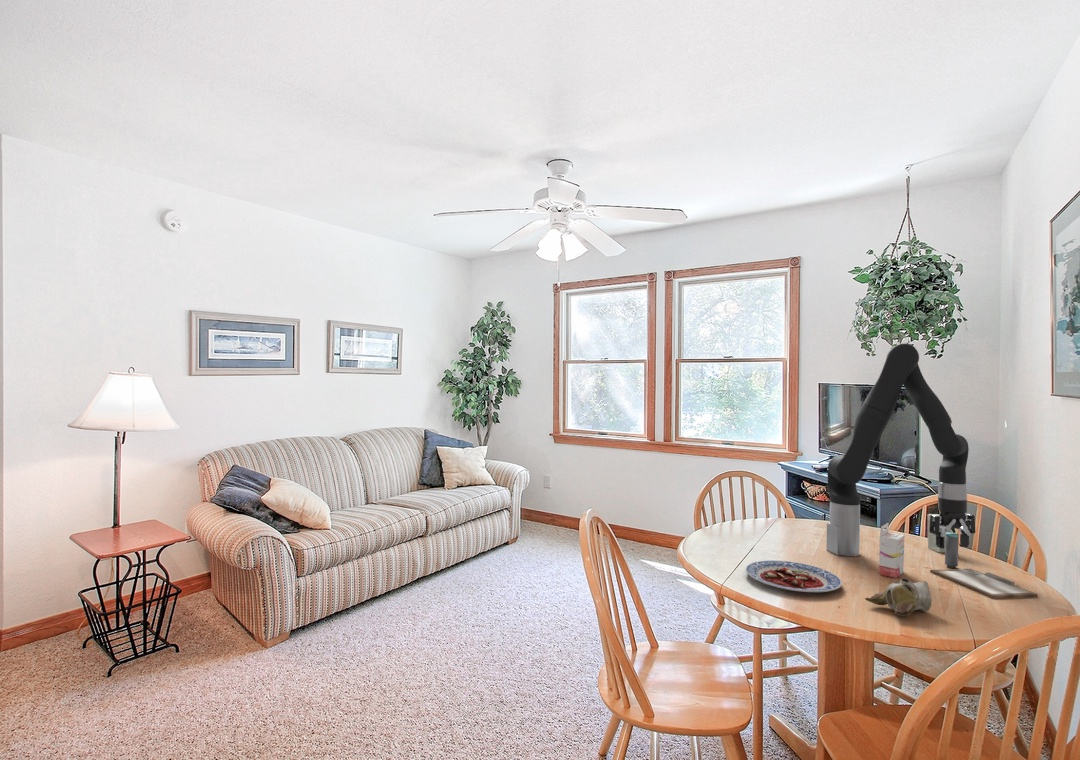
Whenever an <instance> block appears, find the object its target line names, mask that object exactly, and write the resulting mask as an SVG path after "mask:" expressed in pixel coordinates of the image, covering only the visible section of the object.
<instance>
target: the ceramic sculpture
mask: <svg viewBox="0 0 1080 760" xmlns="http://www.w3.org/2000/svg"><path fill="white" fill-rule="evenodd" d="M864 600H865V601H867V602H869V603H872V604H874V605H876V606H888V607H889V608H890V609H892V610H893V611H894V614H895V615H898V616H900V617H908V616H910V615H911V614H912V613H913V612H914V611H921V612H925V613H926V612H928V611H929V610H931V607H932V601H933V600H932V596H931V592H930V587H929V585H928V581H926V580H924V581H923V580H922V581H919V582H913V581H911V580H910V579H907V578H901V579H900V581H899V582H893V583H890V584H888V585H887V586H886V588H885V589H884V591H880V592H877V593H875V594H874V595H873V596H870V597H864Z"/></svg>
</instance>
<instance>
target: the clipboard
mask: <svg viewBox="0 0 1080 760" xmlns="http://www.w3.org/2000/svg"><path fill="white" fill-rule="evenodd" d="M929 572H930V574H933V575H935V576H938V577H941V578H942V579H945V580H948V581H949V582H951V583H954V584H957V585H959V586H961V587H964V588H965V589H968V590H970V591H973V592H975V593H978V594H980V595H983V596H985V597H987V598H990V599H1015V598H1016V599H1018V598H1019V599H1020V598H1021V599H1022V598H1038V597H1039V595H1038V593H1036V592H1033V591H1030V590H1028V589H1025V588H1022V587H1020V586H1018V585H1015V581H1013V580H1010V579H1008V578H1005V577H1002V576H999V575H997V574H994V573H992V572H985V573H983V572H981V571H978V570H975V569H973V568H946V569H945V568H944V569H942V568H941V569H930V570H929Z"/></svg>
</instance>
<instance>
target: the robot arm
mask: <svg viewBox="0 0 1080 760" xmlns="http://www.w3.org/2000/svg"><path fill="white" fill-rule="evenodd" d="M919 360H920V354H919V351H918V350H917V348H916V347H915V346H914V345H912V344H909V343H899V344H897V345H893V347H891V348H890V349H889V351H888V352H887V354H886V359H885V360H884V361H885V362H884V364H883V367H882V369H881V372H880V374H879V377H878V379H877V380H876V382H875V383H874V385H873V387H872V388H871V390H870V391H869V393H868V394H867V396H865V397H866V398H865V400H864V401H863V403H862V405H861V407H860V408H859V410H858V413H857V415H856V417H855V421H854V426H853V434H852V439H851V443H850V445H849V447H848V449H847V450H846V452H845V454H841V455H840V454H838V455H835V456H833V457H832V458H831V459H830V460H829V462H828V465H827V490H828V491H827V492H828V495H829V522H827V523H826V550H827V551H828V552H829V553H830V552H831V553H832V554H834V555H836V556H845V557H846V556H847V557H857V556H859V555H860V543H861V541H860V537H861V535H860V534H861V533H860V532H861V530H860V529H861V527H860V525H861V524H860V523H861V496H860V494H859V492H858V490H857V483H859V482H861V480H863V478H864V476H865V474H866V471H867V468H868V465H869V463H870V459H871V457H872V455H873V452H874V450H875V448H876V447H877V445H878V443H879V441H880V439H881V436H882V434H883V432H884V431H885V429H886V427H887V425H888V423H889V421H890V419H891V417H892V415H893V414H894V412H895V411H894V410H895V408H896V407H897V402H898V400H899V397H900V394H901V390H902V387H903V386H904V388H905V390H906V391H907V393H908V395H909V397H910V398H911V400H912V402H913V404H914V406H915V408H916V409H917V411H918V413H919V415H920V416H921V419H922V421H923V422H924V423H925V426H926V427H927V429H928V432H929V435H930V437H931V441H932V444H933V445H934V447H935V449H936V450H937V452H938V453H940V454H941V456H942V461H941V464H940V465H939V468H938V486H937V509H938V510H939V516H936V515H931V516H930V533H932V534H935V535H936V545H937V547H939V548H944V547H945V545H944V535H945V534H946V532H948V531H949V530H950V529H951V530H954V529H956V530H958V531H959V532H960V534H959V538H960V540H959V543H960V544H959V545H960V547H962V548H963V547H964V548H968V547H969V545H970V536H971V535H972V534H976V518H975V515H974V514H971V513H967V512H968V489H967V472H966V471H967V470H966V469H967V464H968V459H969V450H970V449H969V442H968V440H967V439H966V438H965V437H964V436H962V435H960V434H957V433H956V432H955V430H954V429H953V427H952V423H953V422H952V421H953V420H952V418H951V417H950V415H949V412H948V411H947V410H946V407H945V406H944V404H943V403H942V401H941V400H940V398H939V396H937V394H936V393H935V392H934V391H933V390H932V388H931V387H930V385H929V384H928V383H927V381H926V379H925V377H924V376H923V374H922V371H921V368H920V365H919ZM943 525H944V527H943ZM934 527H935V530H934ZM941 530H942V531H941Z"/></svg>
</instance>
